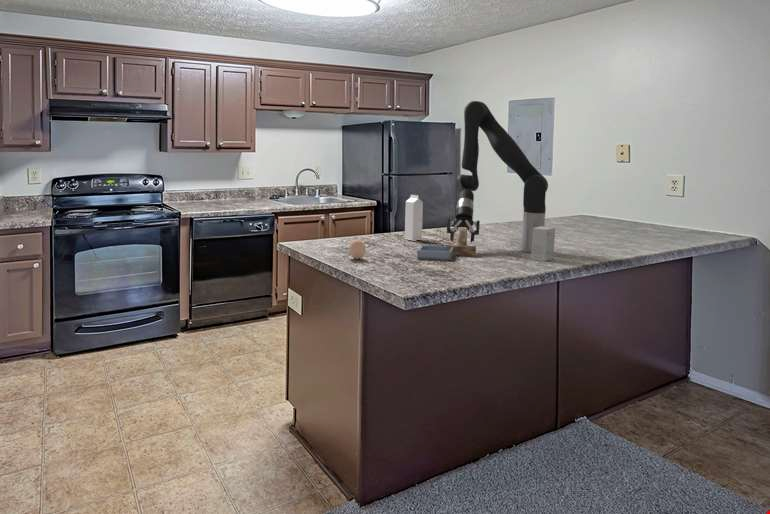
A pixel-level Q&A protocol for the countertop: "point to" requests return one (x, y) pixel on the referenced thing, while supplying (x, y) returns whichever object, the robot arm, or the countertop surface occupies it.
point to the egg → (357, 249)
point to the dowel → (462, 236)
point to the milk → (413, 218)
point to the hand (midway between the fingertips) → (462, 240)
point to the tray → (434, 252)
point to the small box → (543, 243)
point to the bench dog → (462, 250)
